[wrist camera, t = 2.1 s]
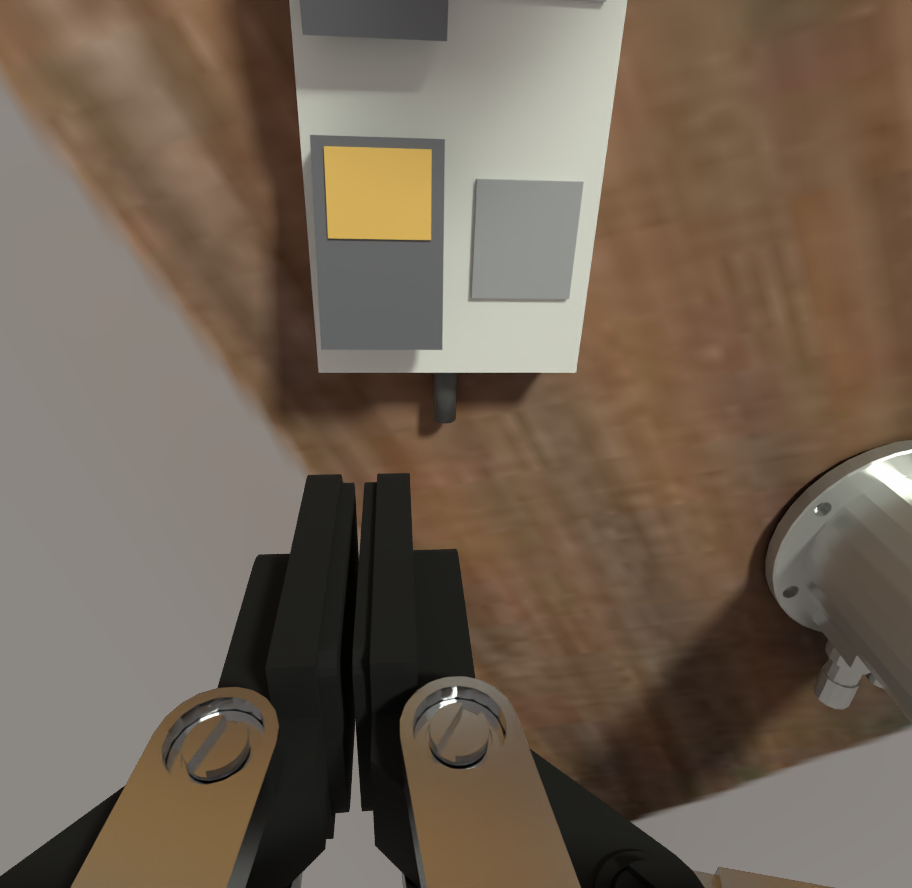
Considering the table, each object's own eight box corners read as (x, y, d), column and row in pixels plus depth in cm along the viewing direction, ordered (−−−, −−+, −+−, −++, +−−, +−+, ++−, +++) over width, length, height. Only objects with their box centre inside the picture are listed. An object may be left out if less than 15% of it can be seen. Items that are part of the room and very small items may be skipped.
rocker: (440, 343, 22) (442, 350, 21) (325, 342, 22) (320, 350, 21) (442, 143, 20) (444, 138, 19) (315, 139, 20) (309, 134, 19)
